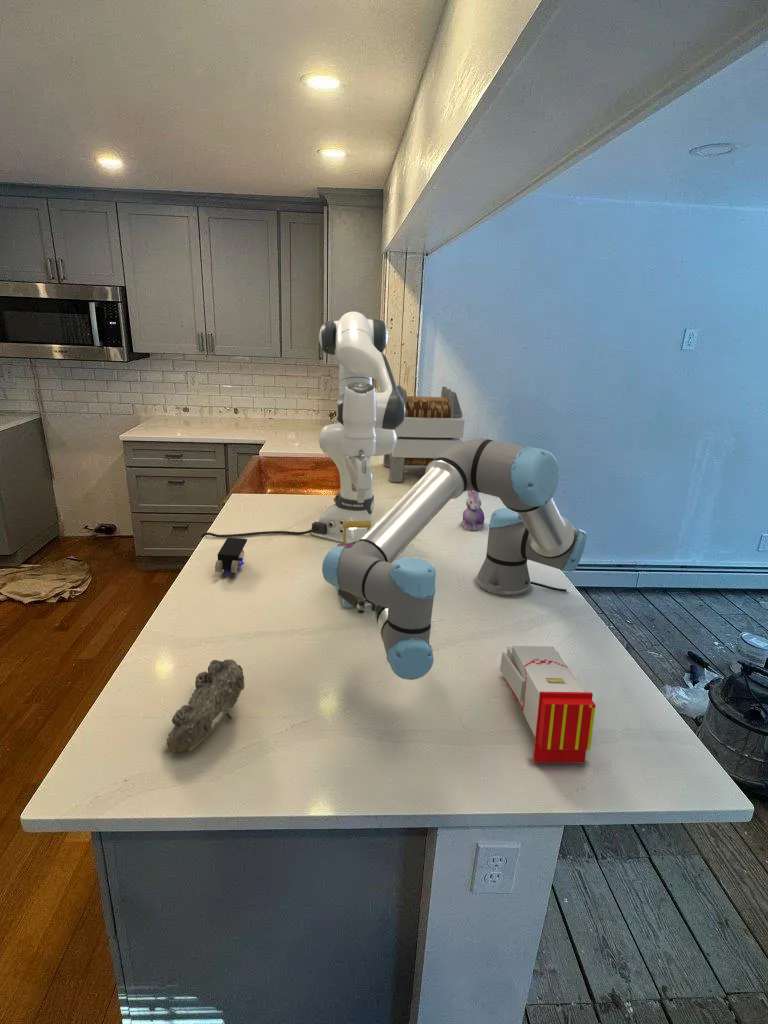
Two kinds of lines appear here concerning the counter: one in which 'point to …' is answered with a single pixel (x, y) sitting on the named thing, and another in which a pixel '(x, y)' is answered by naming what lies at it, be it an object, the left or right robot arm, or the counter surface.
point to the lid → (353, 525)
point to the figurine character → (230, 556)
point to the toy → (550, 702)
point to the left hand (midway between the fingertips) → (357, 496)
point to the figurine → (473, 512)
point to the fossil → (206, 705)
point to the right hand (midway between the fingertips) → (380, 574)
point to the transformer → (425, 431)
